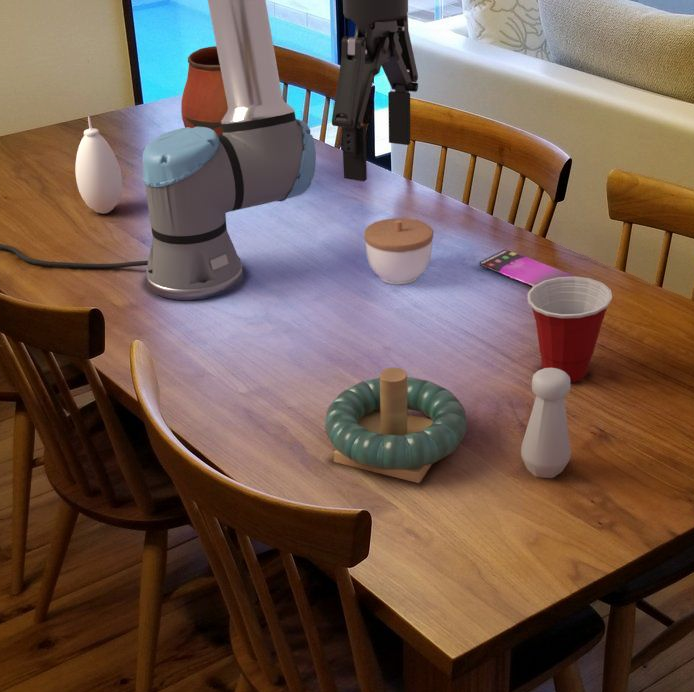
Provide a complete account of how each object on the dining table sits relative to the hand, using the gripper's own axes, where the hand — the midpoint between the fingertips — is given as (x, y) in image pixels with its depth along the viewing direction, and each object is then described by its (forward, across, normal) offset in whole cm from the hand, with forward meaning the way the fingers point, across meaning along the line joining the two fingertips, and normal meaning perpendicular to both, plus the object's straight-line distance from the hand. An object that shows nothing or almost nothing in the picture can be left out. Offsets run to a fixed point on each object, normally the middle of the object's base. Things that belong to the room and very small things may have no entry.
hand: (378, 160), depth 134 cm
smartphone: (+29, +33, -11) cm, 45 cm away
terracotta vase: (+29, +50, +52) cm, 78 cm away
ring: (+25, -18, -10) cm, 33 cm away
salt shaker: (+29, -16, -28) cm, 43 cm away
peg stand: (+29, -19, -10) cm, 36 cm away
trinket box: (+29, +25, +8) cm, 39 cm away
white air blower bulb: (+29, +30, +69) cm, 81 cm away
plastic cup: (+29, +6, -24) cm, 38 cm away
